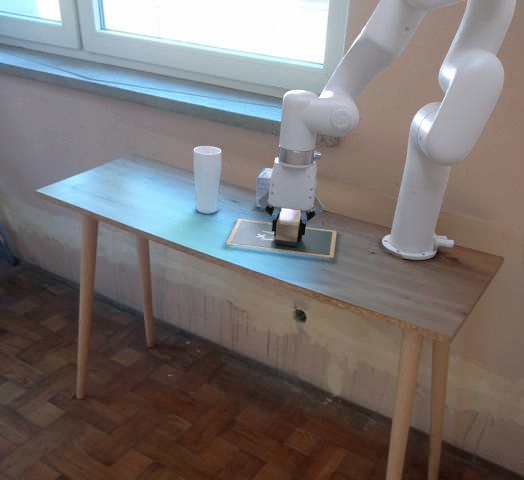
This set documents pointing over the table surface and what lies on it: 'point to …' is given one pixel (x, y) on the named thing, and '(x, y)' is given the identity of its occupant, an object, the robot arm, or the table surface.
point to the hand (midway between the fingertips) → (288, 235)
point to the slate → (263, 238)
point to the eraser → (288, 227)
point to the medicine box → (263, 184)
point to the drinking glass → (207, 177)
